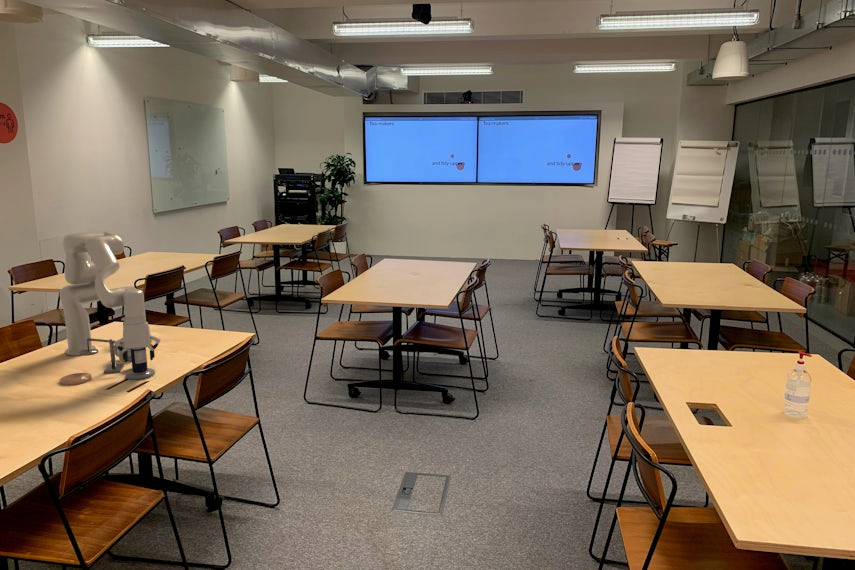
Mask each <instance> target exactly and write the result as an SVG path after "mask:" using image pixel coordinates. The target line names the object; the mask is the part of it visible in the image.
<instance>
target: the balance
mask: <svg viewBox="0 0 855 570" xmlns="http://www.w3.org/2000/svg"><path fill="white" fill-rule="evenodd" d="M88 341H91V342H100V343H101V342H102V343H109V351H110V352H109V353H110V362H111V363H109V364H107V366H106V367H105V369H104V370H103V373H104V374H114V373H115V374H117V373H121V371H122V370H123V368H124V366H125V364H124V363H125V362H122V363H117V362H116V355H115V351H114V345H115V344H114V343H115V342H116V341H117V340H115V339H112V338H110V339H103V338H92V337H91V338H88V339H87V346H88V349H85V350H82V351H80V352H79V355H78V356H83V357H84V356H85V357H86V356H94V355H96V354H98V353H99V349H98V348H96V349H89V342H88ZM120 344H123V342H121V343H120ZM128 361H130V362H129V363H132V360H131V356H129V357H128Z"/></svg>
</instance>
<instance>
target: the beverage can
mask: <svg viewBox="0 0 855 570" xmlns="http://www.w3.org/2000/svg"><path fill="white" fill-rule="evenodd" d="M131 360H132V362H131V369H132V371H133V372H134V373H135V374H143V373H145V372H146V371H147V370H148V369H147V368H148V358H147V347H146V348H133V349H131Z"/></svg>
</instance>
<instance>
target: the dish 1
mask: <svg viewBox="0 0 855 570" xmlns="http://www.w3.org/2000/svg"><path fill="white" fill-rule="evenodd" d="M92 377H93V376H92V374H91V373H89V372H76V373H71V374H66V375H65V376H62V377H61V378H60V379H59V380H60V381H59V382H60V384H61V385H62V384H63V385H62V386H77V385H81V384H82V385H83V384H85V383H87V382H90V381H91V380H92Z"/></svg>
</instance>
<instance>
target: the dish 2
mask: <svg viewBox="0 0 855 570" xmlns="http://www.w3.org/2000/svg"><path fill="white" fill-rule="evenodd" d="M147 369H148V370H147V371H146V372H145V373H143V374H135V373H134V372H133V371H132V370H129V371H127V372H126V373H125V378H126V379H127V380H130V381H141V379H142V380H146V379H145V378H147V379H150V378H152V377H154V376H155V375H156V370H155V369H154V368H150V367H149V368H148V367H147ZM154 374H155V375H154ZM153 375H154V376H153ZM151 376H152V377H151ZM149 377H150V378H149Z"/></svg>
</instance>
